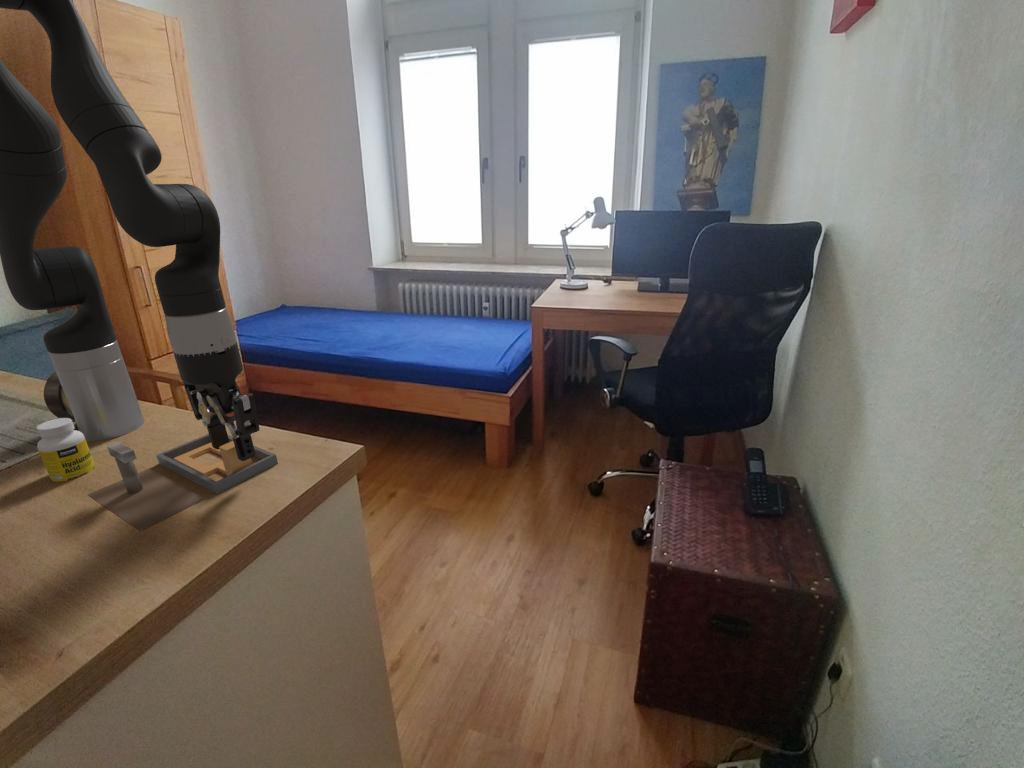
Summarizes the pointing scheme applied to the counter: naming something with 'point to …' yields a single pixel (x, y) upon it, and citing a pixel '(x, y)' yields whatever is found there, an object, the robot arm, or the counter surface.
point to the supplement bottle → (64, 450)
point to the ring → (224, 466)
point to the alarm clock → (57, 399)
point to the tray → (216, 487)
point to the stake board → (142, 493)
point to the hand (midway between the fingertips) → (234, 452)
